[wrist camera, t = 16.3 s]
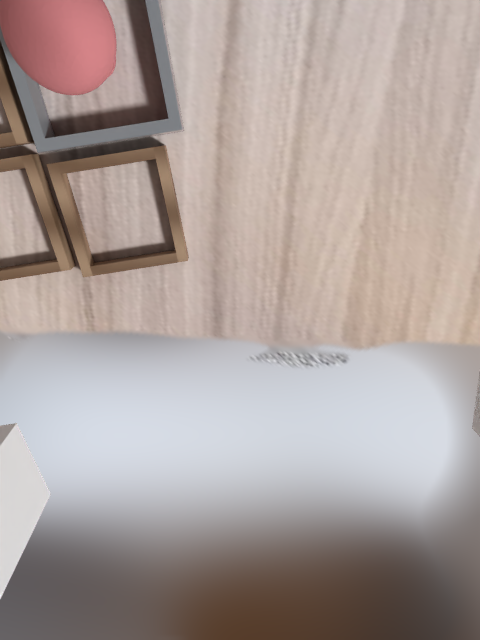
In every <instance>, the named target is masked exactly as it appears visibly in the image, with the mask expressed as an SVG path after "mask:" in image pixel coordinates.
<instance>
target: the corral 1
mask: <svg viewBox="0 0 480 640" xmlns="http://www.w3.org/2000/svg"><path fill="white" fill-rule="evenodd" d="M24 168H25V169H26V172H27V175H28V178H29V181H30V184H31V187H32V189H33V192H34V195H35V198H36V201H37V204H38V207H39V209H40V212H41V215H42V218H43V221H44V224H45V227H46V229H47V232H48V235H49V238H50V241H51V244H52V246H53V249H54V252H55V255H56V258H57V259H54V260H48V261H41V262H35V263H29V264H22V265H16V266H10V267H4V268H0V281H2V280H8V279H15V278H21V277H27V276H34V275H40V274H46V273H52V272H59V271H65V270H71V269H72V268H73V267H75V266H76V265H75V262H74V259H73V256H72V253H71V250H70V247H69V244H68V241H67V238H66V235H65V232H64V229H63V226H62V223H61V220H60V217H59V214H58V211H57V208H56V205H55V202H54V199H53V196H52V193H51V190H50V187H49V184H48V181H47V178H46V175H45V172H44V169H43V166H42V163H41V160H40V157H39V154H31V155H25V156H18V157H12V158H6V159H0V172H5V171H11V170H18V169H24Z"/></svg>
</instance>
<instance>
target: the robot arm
mask: <svg viewBox="0 0 480 640" xmlns="http://www.w3.org/2000/svg"><path fill="white" fill-rule="evenodd" d="M472 429H473V430H474V431H475V432H476V433H477V434H478V435H479V436H480V373H479V381H478V388H477V396H476V404H475V411H474V419H473V426H472ZM49 497H50V492H49V489H48V487H47V485H46V483H45V481H44V479H43V477H42V475H41V473H40V471H39V469H38V466H37V464H36V462H35V460H34V458H33V456H32V454H31V452H30V450H29V448H28V446H27V444H26V442H25V439H24V437H23V435H22V433H21V431H20V429H19V427H18V425H17V423H16V424H9V425H2V426H0V599H1V596H2V594H3V592H4V590H5V588H6V586H7V584H8V582H9V580H10V577H11V576H12V574H13V572H14V569H15V567H16V565H17V563H18V561H19V559H20V557H21V555H22V552H23V551H24V548H25V546H26V545H27V542H28V540H29V538H30V536H31V534H32V532H33V530H34V528H35V526H36V523H37V522H38V519H39V518H40V515H41V513H42V511H43V509H44V507H45V505H46V503H47V501H48V499H49Z"/></svg>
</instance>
